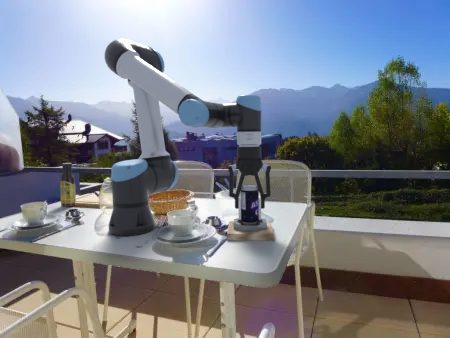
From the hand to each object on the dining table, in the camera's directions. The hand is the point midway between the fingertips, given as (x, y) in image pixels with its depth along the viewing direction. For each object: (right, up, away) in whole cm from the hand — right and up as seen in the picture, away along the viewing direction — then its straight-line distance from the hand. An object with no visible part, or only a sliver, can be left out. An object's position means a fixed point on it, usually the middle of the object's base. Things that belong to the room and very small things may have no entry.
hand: (249, 218), depth 104 cm
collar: (0, -3, 0) cm, 3 cm away
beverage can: (0, -2, 0) cm, 2 cm away
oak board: (0, -5, 0) cm, 5 cm away
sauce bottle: (-80, -1, +46) cm, 93 cm away
